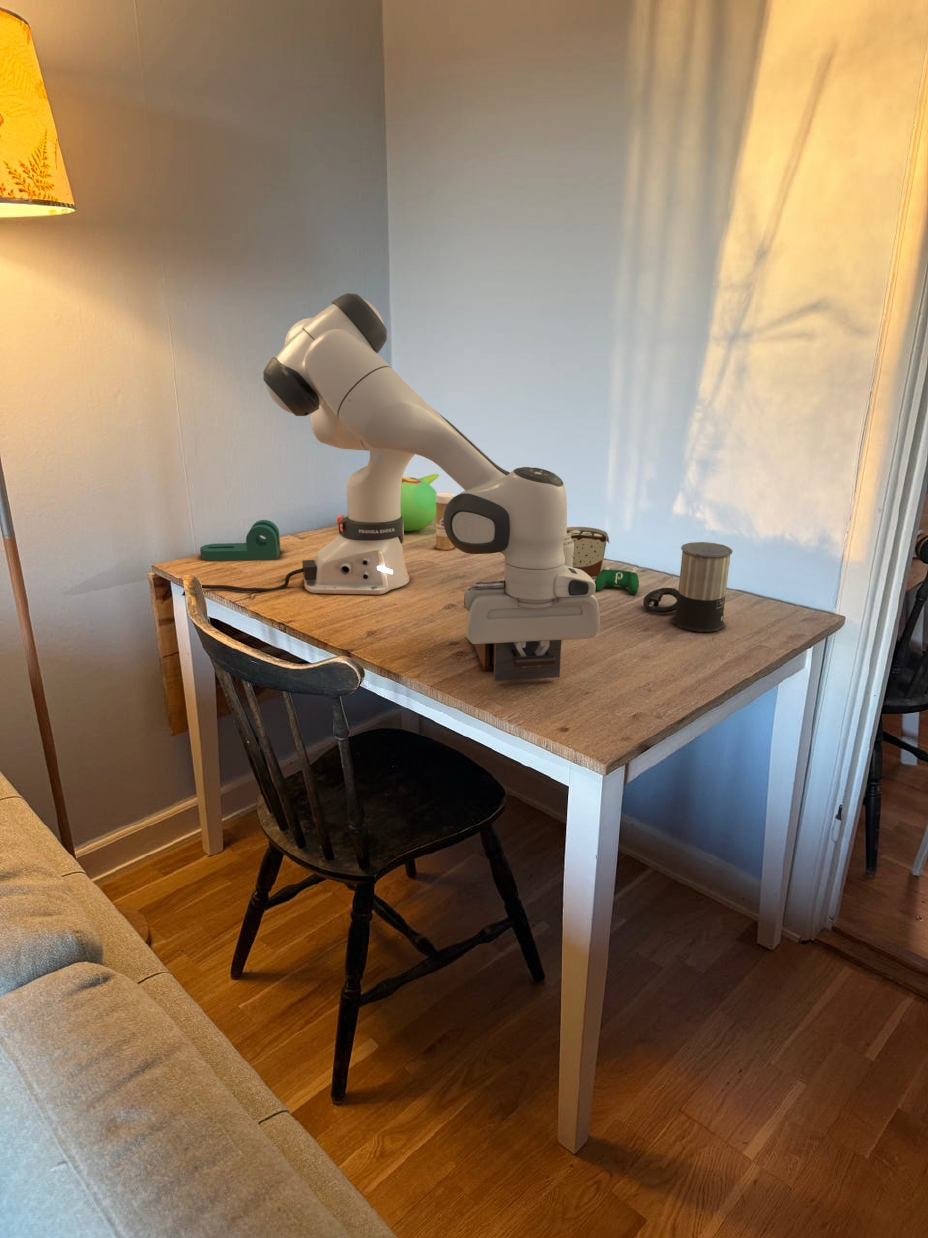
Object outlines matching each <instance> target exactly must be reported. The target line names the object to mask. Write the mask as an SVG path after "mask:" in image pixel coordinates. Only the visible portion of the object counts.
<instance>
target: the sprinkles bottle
mask: <svg viewBox="0 0 928 1238" xmlns="http://www.w3.org/2000/svg"><path fill="white" fill-rule="evenodd" d="M436 493H437V494H436V518H435V540H436V541H435V548H436V549H437V550H441V551H448V550H452V549H454V547H455V546H454V545H453V544H452V543H451V541H450V540H449V538H448V536H447V534H446V532H445V528H444V521H443V518H444V511H445V508H446V506H447V504H448V503H449V501H450V500H451V499H452V498H453V497H455V494H454V493H452V492H436Z"/></svg>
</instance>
